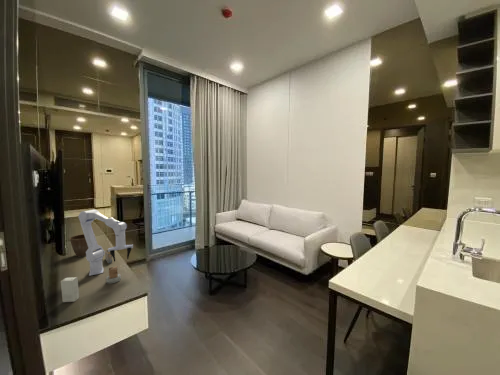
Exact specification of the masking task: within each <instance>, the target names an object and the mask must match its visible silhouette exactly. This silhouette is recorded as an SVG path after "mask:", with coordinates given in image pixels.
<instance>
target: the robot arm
mask: <svg viewBox="0 0 500 375" xmlns="http://www.w3.org/2000/svg"><path fill="white" fill-rule="evenodd" d="M77 216H78V220H79V222H80V227H81V229H82V232H83V234H84V236H85V239H86V242H87V245H88V250H87V251H86V255H85V259H86V260H87V262H88V263H89V272H88V273H89V274H88V276H89V277H90V276H93V275H94V276H95V275H100V274H103V273H104V266H103V259H104V257H105V250H104V248H103V246H102V245H99V244H98V241H97V238H96V235H95V232H94V230H93V226H92V223H93V221H95V220H98V221H101V222H103V223H104V225H106V226H107V227H109V228H111V229H112V230H113V232H114V235H115V246H113V247H109V248H107V250H108V252H110V254H111V255H112V260H113V262H116V256H115V252H116V251H122V250H126V259H127V260H129V257H130V254H131V251H132V249H134V244H126V230H127V228H128V224H127V223H126V222H124V221H119V220H117V219H115V218H114V217H107V216H105V215H104V214H102V213H101V212H100V210H98V209H95V208H94V209H89V210H82V211H80V213H79V214H78V215H77Z"/></svg>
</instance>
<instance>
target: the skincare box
mask: <svg viewBox="0 0 500 375" xmlns="http://www.w3.org/2000/svg"><path fill="white" fill-rule="evenodd" d="M78 280H79V279H78V276H75V277H65V278H63V279H61V280H60V289H61V297H62V298H61V299H62V303H71V302H72V303H74V302H76V301H78V299H79V298H80V291H79V281H78Z"/></svg>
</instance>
